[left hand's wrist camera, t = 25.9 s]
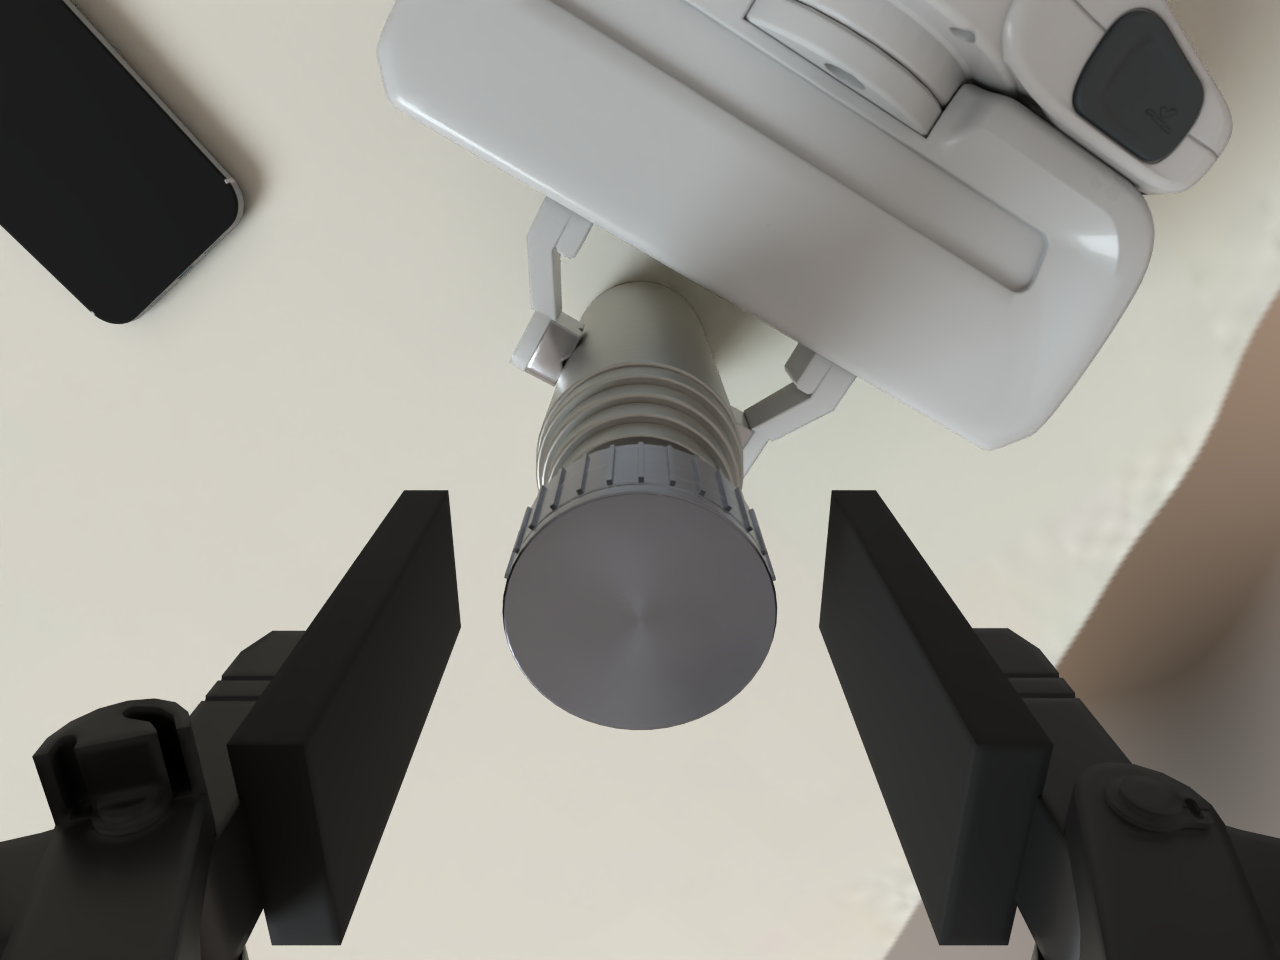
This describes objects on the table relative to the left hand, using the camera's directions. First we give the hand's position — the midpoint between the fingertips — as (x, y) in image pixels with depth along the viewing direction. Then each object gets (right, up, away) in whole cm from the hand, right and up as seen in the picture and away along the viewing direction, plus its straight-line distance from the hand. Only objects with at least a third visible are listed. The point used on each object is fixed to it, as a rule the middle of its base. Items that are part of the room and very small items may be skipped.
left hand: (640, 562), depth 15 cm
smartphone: (-21, +14, +13) cm, 28 cm away
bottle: (0, +6, +16) cm, 17 cm away
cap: (0, -1, -1) cm, 2 cm away
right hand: (0, +3, +10) cm, 11 cm away
